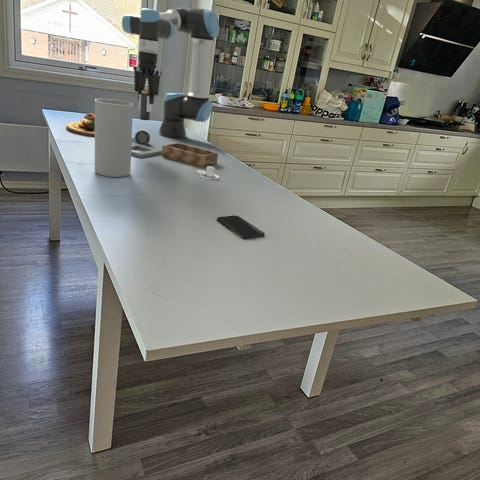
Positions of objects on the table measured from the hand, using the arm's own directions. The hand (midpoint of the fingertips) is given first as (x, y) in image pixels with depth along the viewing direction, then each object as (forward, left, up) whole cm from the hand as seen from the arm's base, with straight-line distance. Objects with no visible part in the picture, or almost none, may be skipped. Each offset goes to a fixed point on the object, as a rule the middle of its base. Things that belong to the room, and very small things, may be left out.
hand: (145, 110), depth 177 cm
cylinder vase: (+35, +15, -19) cm, 42 cm away
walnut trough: (-9, +19, -18) cm, 28 cm away
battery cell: (0, 0, -4) cm, 4 cm away
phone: (+46, +74, -19) cm, 89 cm away
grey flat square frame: (+1, -2, -18) cm, 19 cm away
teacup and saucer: (+4, +37, -19) cm, 42 cm away
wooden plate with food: (-16, -43, -19) cm, 50 cm away
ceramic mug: (-13, -13, -19) cm, 26 cm away
